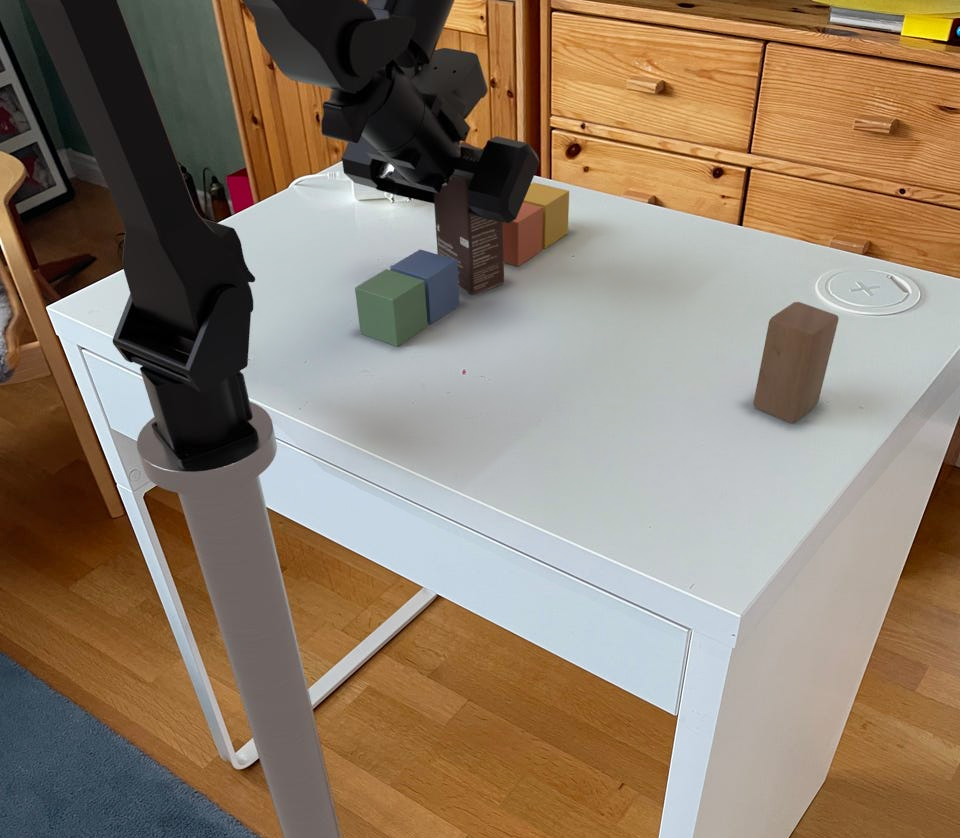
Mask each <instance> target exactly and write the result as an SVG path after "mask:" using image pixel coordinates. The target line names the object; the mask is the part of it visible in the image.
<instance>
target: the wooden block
mask: <svg viewBox="0 0 960 838" xmlns="http://www.w3.org/2000/svg"><path fill="white" fill-rule="evenodd" d="M839 320H840V317H839V316H838V314H835V313H833V312H829V311H827V310H825V309H824V310H823V309H820V308H818V307H815V306H813V305H809V304H807V303H803V302H801V301H793V303H791V304H789V305H788V306H786V307H784V308H783V309H782V310H780V311H779V312H777V313H775V314H774V315H773V316H771V317H770V319H769V321H768V326H767V331H766V335H765V341H764V346H763V351H762V357H761V362H760V365H759V366H760V367H759V372H758V375H757V376H758V378H757V382H756V387H755V393H754V398H753V403H752V406H753V407H754V408H755V409H757V410H760V411H762V412H764V413H766V414H769V415H771V416H773V417H776V418H778V419H780V420H783V421H786V422H788V423H792V424H793V423H796V422H797V421H798V420H800V419H801V418H802V417H804V416H805V415H807V414H808V413H809V412H810V411H812V410H813V409H814V408H815V407H816V406H817V405H818V404H819V401H820V397H821V393H822V389H823V384H824V380H825V377H826V373H827V368H828V364H829V360H830V356H831V352H832V348H833V345H834V339H835V336H836V333H837V332H836V331H837V327H838V324H839Z"/></svg>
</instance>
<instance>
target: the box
mask: <svg viewBox="0 0 960 838" xmlns="http://www.w3.org/2000/svg"><path fill="white" fill-rule="evenodd" d="M459 146H462V147H466V148H470V149H475V150H479V151H480V150H482V149H483V148H481V147H477V146H475V145H472V144H470V143H468V142H466V141H461V142H460V143H459ZM470 182H471V180H469V179H465V178H461V177H457V176H453V175H451V177H450V179H449V182H448V184H447V185H446V186H443V185H442V187H441V190H440V192H439V193H435V192H433V194H434V204H433V205H434V206H433V207H434V219H435V220H434V221H435V222H434V223H435V236H436V251H437V254H438V255H441V256H445V257H448V258H451V259H455V260H457V262H458V283H459V288H462V289H463V290H465V291H466V292H467V293H468V294H470V295H474V294H478V293H481V292H484V291H487V290H490V289H493V288H495V287H497V286H500V285H502V284H504V283H505V262H504V250H503V222H500V221H496V220H488V219H484V218H480V217H477V216H473V215H469V214H467V212H468V209H469V206H468V197H467V189H468V187H469V184H470Z"/></svg>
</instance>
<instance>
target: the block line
mask: <svg viewBox="0 0 960 838" xmlns="http://www.w3.org/2000/svg"><path fill="white" fill-rule="evenodd" d="M569 206H570V190H567V189H563V188H559V187H556V186H550V185H546V184H542V183H538V182H535V181H534V182H533V181H532V182H531V184H530V187H529V189H528V192H527V194H526V196H525V199H524V201H523V203H522V206H521V208H520V211H519V213H518V215H517V218H516V219H515V220H513V221H512V222H510V223H504V222H503V250H504V264H505V263H506V264H509V265H513V266H516V267H519V266H521V265H523V264H524V263H525V262H527V261H528V260H530V259H531V258H533V257H534V256H536V255H538V254H539V253H540V252H543V249H547V248H548V247H550V246H552V245H553V244H554V243H556V242H557V241H560V240H561V239H562V238H564V237H565V236H566V235H568V233H569V212H570V207H569ZM389 268H390V269H388V268H385V269H384V270H382V271H381V272H379V273H377V274H375V275H374V276H372V277H370V278H369V279H367V280H365V281H363V282H361V283H360V284H359V285H357V286H355V287H354V293H355V302H356V307H357V316H358V325H359V333H360V334H361V335H363V336H366V337H368V338H369V337H370V338H371V339H372V338H373V339H374V340H378V341H380V342H383V343H386V344H389V345H392V346H394V347H399V346H401V345H403V344H404V343H405V342H407V341H408V340H410V339H411V338H414V336H416V335H417V334H419V333H420V332H422V331H423V330H425V329H427V328H428V326H429V325H428V324H430V325H432V324H434V323H435V322H437V321H438V320H440V319H441V318H444V317H445V316H446V315H447V314H449V313H450V312H452V311H453V310H456V309H457V308H458V307H459V306H460V286H459V283H458V262H457V260H455V259H451V258H448V257H445V256H441V255H438V253H434V252H431V251H427V250H424V249H418V250H416V251H414V252H412V253H411V254H409V255H408V256H406V257H404V258H403V259H400V260H399V261H398V262H396V263H394V264H393V265H391V266H389Z"/></svg>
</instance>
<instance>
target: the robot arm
mask: <svg viewBox="0 0 960 838" xmlns="http://www.w3.org/2000/svg"><path fill="white" fill-rule="evenodd" d="M240 1H241V2H242V3H243V4H244V6H245V7H246V8H247V10H248V11H249V13H250V14H251V16H252V18H253V21H254V25H255V30H256V35H257V38H258V41H259V42H260V43H261V45H262V46H263V48H264V49H265V51H266V53H268V55H269V56H270V58H271V60H272V61H273V62H274V64H275V65H276V67H277V68H278V70H279V71H280V72H281V73H282V75H283V76H285V77H286V78H288V79H289V80H291V81H293V82H296V83H297V82H298V83H303V84H307V85H311V86H317V87H320V88H326V89H329V90H330V89H331V91H330V93H329V99H328V100H325V101H323V102H322V111H323V115H322V118H321V121H320V127H321V128H320V129H321V134H322V136H323V137H325V138H329V139H333V140H338V141H342V142H346V143H347V144H346V146H345V149H344V151H343V154H342V157H341V162H342V169H343V174H344V175H346V177H348V178H349V179H350V180H351V181H352V182H353V183H354V184H357V185H361V186H365V187H369V188H373V189H375V190H377V191H380V192H383V193H387V194H389V195H390V194H391V195H394V196H397V197H403V198H407V199H413V200H417V201H421V202H425V203H429V204H433V205H434V194H433V192H435V193H439V192H440V190H441V187H442V185H443V186H446V185H447V184H448V182H449V179H450V177H451V175H453V176H457V177H461V178H465V179H469V180H471V182H470V184H469V187H468V189H467V197H468V206H469V209H468V212H467V214H469V215H473V216H477V217H480V218H484V219H488V220H496V221H500V222H504V223H510V222H512V221H513V220H515V219H516V218H517V215H518V213H519V211H520V208H521V206H522V203H523V201H524V199H525V196H526V194H527V192H528V189H529V187H530V184H532V183H533V179H534V177H535V175H536V173H537V170H538V168H539V165H540V159H539V156H538V154H537V152H536V150H534V149H533V147H532V146H531V144H530V143H529V142H524V141H520V140H515V139H511V138H507V137H502V136H498V135H495V136H494V137H492V138H489V139H488V140H487V141H486V143H485V145H484V146H483V148H481V149H482V150H480V151H479V150H475V149H470V148H466V147H462V146H459V143H461V142H466V140H467V138H468V135H469V134H470V131H471V126H470V125H469V124H468V122H466V119H467V118H468V117H469V116H470V114H471V113H472V112H473V110H474V109H475V108H476V106H477V105H478V103H479V102H480V101H481V99H484V98H485V97H486V95H487V93H488V92H489V90H488V85H487V81H486V78H485V74H484V71H483V69H482V66H481V65H482V64H481V62H480V58H479V56H478V54H477V53H475V52H471V51H465V50H460V49H454V48H449V47H442V48H441V47H440V48H438V49H436V48H437V46H438V43H439V40H440V38H441V35H442V33H443V31H444V28H445V25H446V23H447V21H448V18H449V16H450V14H451V10H452V8H453V5H454V3H455V1H456V0H366V3H365V2H364V1H362V0H240ZM25 2H26V4H27V7H28V9H29V11H30V13H31V16H32V18H33V20H34V23H35V24H36V27H37V30H38V31H39V34H40V36H41V38H42V40H43V42H44V45H45V47H46V50H47V52H48V54H49V57H50V59H51V61H52V63H53V65H54V68H55V70H56V72H57V75H58V77H59V79H60V81H61V83H62V86H63V88H64V90H65V93H66V95H67V97H68V99H69V102H70V105H71V107H72V109H73V111H74V113H75V116H76V118H77V121H78V122H79V124H80V127H81V129H82V132H83V133H84V136H85V139H86V140H87V143H88V145H89V148H90V149H91V152H92V154H93V157H94V159H95V162H96V163H97V166H98V169H99V170H100V173H101V175H102V177H103V179H104V182H105V184H106V186H107V188H108V191H109V193H110V196H111V198H112V200H113V202H114V204H115V207H116V209H117V211H118V214H119V216H120V218H121V220H122V223H123V226H124V230H125V231H124V241H123V250H122V258H121V259H122V260H121V265H122V269H123V271H124V276H125V279H126V283H127V286H128V287H127V288H128V290H129V292H130V294H129V296H128V298H127V301H126V303H125V306H124V309H123V310H122V311H123V312H122V314H121V316H120V319H119V322H118V325H117V327H116V329H115V332H114V335H113V337H112V345H113V346H114V347H115V348H116V351H118V352H119V354H120V355H121V356H122V358H123V359H124V360H125V361H126V362H128V363H134V364H137V365H139V366H140V368H139V370H140V375H141V377H142V380H143V381H142V382H143V384H144V388H145V390H146V394H147V398H148V400H149V403H150V407H151V410H152V413H153V417H155V420H156V422H154V423H153V424H152V425H151V426H152V429H153V431H154V433H155V434H156V435H157V436H158V437H159V439H160V440H161V441H162V442H163V444H164V445H165V446H166V447H167V448H168V450H169V451H170V452H171V453H172V455H173V456H174V457H175V458H176V459H177V461H178V462H179V463H180V464H182V465H187V464H190V463H193V462H195V461H198V460H201V459H203V458H206V457H209V456H211V455H214V454H217V453H219V452H222V451H225V450H228V449H230V448H233V447H236V446H238V445H241V444H244V443H246V442H249V441H252V440H254V439H256V438H257V437H258V434H257V430H256V429H255V428H254V427H253V426H252V425H251V424H250V423H249V422H248V421H250V420H252V417H253V415H252V411H251V406H250V402H251V401H250V398H249V393H248V388H247V385H246V380H245V376H244V373H243V372H242V370H244V369H246V368H247V367H248V363H249V349H250V336H251V335H250V334H251V318H252V312H253V311H254V296H253V292H252V287H251V286H250V283H254V282H256V277H255V276H254V274H253V273H252V272H251V270H250V269H249V267H248V264H247V263H246V260H245V257H244V252H243V246H242V242H241V238H240V237H239V235H238V233H237V231H236V229H235V228H234V227H232V226H228V225H224V224H221V223H219V222H216V221H212V220H209V219H206V218H203V217H202V216H201V215H200V214H199V212H198V210H197V209H196V207H195V203H194V200H193V199H192V196H191V194H190V190H189V188H188V185H187V183H186V180H185V178H184V175H183V172H182V169H181V166H180V163H179V161H178V159H177V156H176V153H175V150H174V147H173V145H172V142H171V140H170V136H169V134H168V132H167V129H166V126H165V123H164V121H163V118H162V116H161V113H160V111H159V107H158V105H157V102H156V99H155V97H154V94H153V91H152V88H151V86H150V84H149V81H148V77H147V74H146V73H145V70H144V67H143V65H142V62H141V59H140V56H139V54H138V51H137V48H136V46H135V43H134V40H133V38H132V35H131V32H130V29H129V27H128V24H127V21H126V18H125V16H124V14H123V11H122V8H121V6H120V5H121V4H120V3H119V0H25ZM249 401H250V402H249Z"/></svg>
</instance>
